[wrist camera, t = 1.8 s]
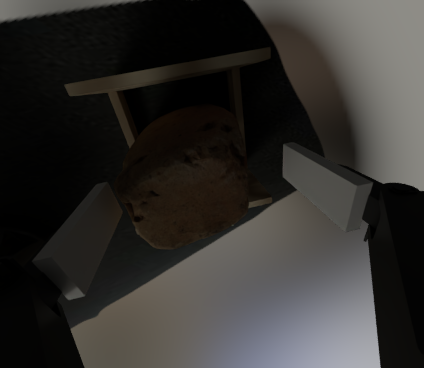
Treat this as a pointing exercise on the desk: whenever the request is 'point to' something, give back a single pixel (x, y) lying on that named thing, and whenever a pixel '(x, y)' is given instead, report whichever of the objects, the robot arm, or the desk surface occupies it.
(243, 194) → the brown potato
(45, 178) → the desk surface
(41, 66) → the desk surface
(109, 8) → the desk surface
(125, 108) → the cradle
